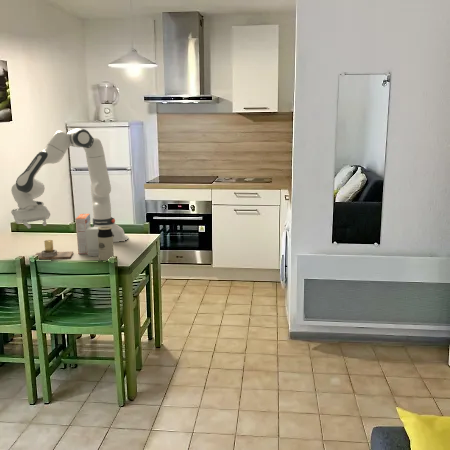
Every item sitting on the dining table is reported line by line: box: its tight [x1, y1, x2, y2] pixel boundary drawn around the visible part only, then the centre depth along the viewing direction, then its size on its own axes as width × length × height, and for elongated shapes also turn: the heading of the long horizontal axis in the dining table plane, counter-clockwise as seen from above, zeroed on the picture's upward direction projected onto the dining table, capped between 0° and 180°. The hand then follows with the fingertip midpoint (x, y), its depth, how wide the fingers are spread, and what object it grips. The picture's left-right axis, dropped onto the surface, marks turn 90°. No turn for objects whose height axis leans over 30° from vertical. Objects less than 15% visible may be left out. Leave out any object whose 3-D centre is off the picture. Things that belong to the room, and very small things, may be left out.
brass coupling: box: [43, 239, 54, 253], centre depth 287 cm, size 4×4×8 cm
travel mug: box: [98, 226, 115, 261], centre depth 281 cm, size 8×8×18 cm
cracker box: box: [75, 213, 92, 255], centre depth 299 cm, size 14×6×21 cm, turn 4°
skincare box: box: [86, 226, 99, 257], centre depth 291 cm, size 8×7×16 cm
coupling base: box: [34, 249, 74, 260], centre depth 288 cm, size 20×11×3 cm, turn 98°
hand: (37, 226), depth 293 cm, fingers open, 8 cm apart
